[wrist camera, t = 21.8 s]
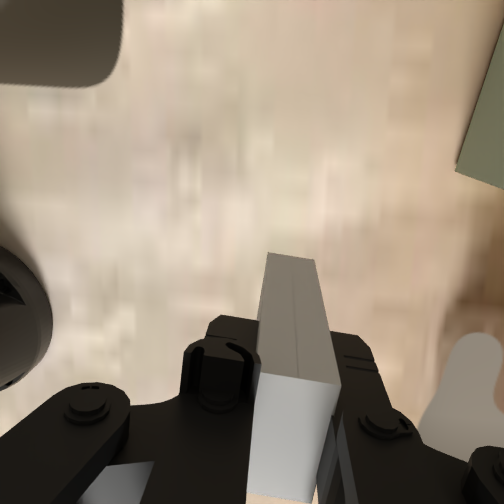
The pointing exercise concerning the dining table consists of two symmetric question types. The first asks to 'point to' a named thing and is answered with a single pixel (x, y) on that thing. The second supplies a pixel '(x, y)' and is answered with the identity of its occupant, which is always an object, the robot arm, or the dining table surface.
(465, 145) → the tray
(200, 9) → the dining table surface
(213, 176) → the dining table surface
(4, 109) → the dining table surface
